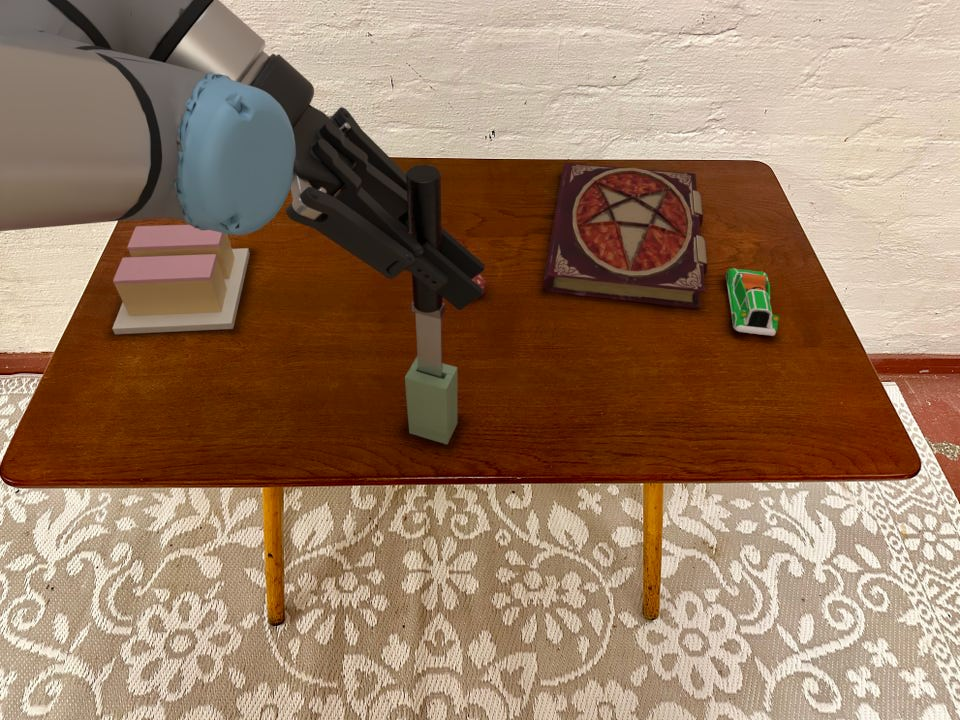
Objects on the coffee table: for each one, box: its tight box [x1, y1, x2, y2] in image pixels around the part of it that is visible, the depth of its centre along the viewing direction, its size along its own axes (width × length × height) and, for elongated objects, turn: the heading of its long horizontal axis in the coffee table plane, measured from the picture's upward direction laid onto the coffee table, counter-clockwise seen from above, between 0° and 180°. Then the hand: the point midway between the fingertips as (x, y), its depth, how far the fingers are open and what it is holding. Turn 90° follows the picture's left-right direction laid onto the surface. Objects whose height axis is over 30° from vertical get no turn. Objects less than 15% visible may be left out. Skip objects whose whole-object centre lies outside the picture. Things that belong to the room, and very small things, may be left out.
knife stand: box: [404, 355, 459, 445], centre depth 71 cm, size 3×4×9 cm
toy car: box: [725, 266, 781, 337], centre depth 87 cm, size 12×5×4 cm, turn 171°
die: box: [472, 273, 487, 294], centre depth 88 cm, size 3×3×3 cm
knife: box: [405, 164, 446, 379], centre depth 61 cm, size 3×3×26 cm
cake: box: [111, 224, 251, 335], centre depth 86 cm, size 15×14×7 cm
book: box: [542, 162, 708, 310], centre depth 97 cm, size 28×21×5 cm
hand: (471, 287), depth 59 cm, fingers closed on knife, 3 cm apart
